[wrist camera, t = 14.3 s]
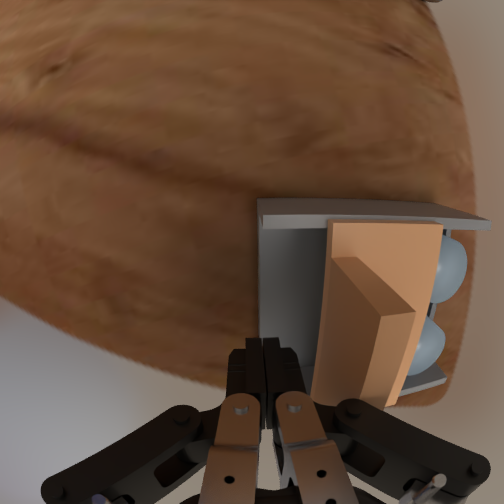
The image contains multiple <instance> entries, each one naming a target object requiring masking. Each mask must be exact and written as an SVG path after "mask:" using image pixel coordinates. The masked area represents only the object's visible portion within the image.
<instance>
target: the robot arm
mask: <svg viewBox="0 0 504 504" xmlns="http://www.w3.org/2000/svg"><path fill="white" fill-rule="evenodd" d="M424 1H428V2H440V1H442V0H424ZM265 418H266V427H267V429H272V431H273V449H274V454H275V459H276V464H277V469H278V474H279V480H280V490H266V489H260V488H257V484H258V465H259V444H260V442H261V430H262V429H265ZM205 465H206V469H205V473H204V478H203V483H202V488H201V493H200V494H197V495H194V496H192V497H190V498H188V499H186V500H184V501H183V502H181V503H180V504H386V503H384V502H382V501H381V500H379V499H377V498H376V497H374V496H372V495H371V494H369V493H367V492H366V491H364V490H362V489H359V488H357V487H354V486H352V484H351V481H350V479H349V476H348V474H347V472H349V473H350V474H352V475H354V476H355V477H357V478H359V479H360V480H362V481H364V482H366V483H367V484H369V485H371V486H373V487H374V488H376V489H378V490H380V491H382V492H384V493H385V494H387V495H389V496H391V497H393V498H395V499H397V500H399V504H464V503H465V501H466V499H467V497H468V496H469V495H470V494H471V493H472V492H473V491H474V490H476V489H477V488H478V487H479V486H480V485H481V484H482V483H483V482H485V481H486V480H487V478H488V477H489V474H490V470H491V469H490V468H491V467H490V463H489V461H488V460H487V459H486V458H485V457H484V456H482V455H480V454H477V453H474V452H472V451H469V450H466V449H464V448H462V447H459V446H457V445H455V444H452V443H450V442H447V441H445V440H443V439H440V438H438V437H436V436H434V435H432V434H429V433H427V432H425V431H423V430H421V429H418V428H416V427H414V426H412V425H410V424H407V423H406V422H404V421H402V420H400V419H398V418H396V417H394V416H392V415H390V414H388V413H386V412H384V411H382V410H380V409H378V408H376V407H374V406H372V405H370V404H368V403H367V402H365V401H363V400H360V399H355V398H350V399H345V400H343V401H341V402H340V403H339V404H338V405H337V406H328V405H322V404H318V403H316V402H314V401H313V400H312V399H311V397H310V396H308V395H307V392H306V388H305V384H304V380H303V376H302V372H301V370H300V364H299V360H298V357H297V354H296V352H295V351H294V350H293V349H292V348H291V347H285V348H281V347H280V341H279V337H266V338H263V339H262V338H246V349H234V350H233V351H232V352H231V354H230V355H229V360H228V373H227V387H226V398H225V400H224V401H223V403H222V404H221V405H220V406H218V407H216V408H214V409H212V410H208V411H203V412H199V411H198V410H197V409H196V408H194V407H192V406H188V405H177V406H174V407H171V408H169V409H168V410H166V411H165V412H163V413H162V414H160V415H159V416H157V417H156V418H154V419H153V420H151V421H149V422H148V423H146V424H145V425H143V426H142V427H140V428H138V429H137V430H135V431H134V432H132V433H130V434H128V435H127V436H125V437H123V438H122V439H120V440H119V441H117V442H115V443H113V444H112V445H110V446H108V447H106V448H105V449H103V450H101V451H99V452H98V453H96V454H94V455H92V456H90V457H88V458H86V459H85V460H83V461H81V462H79V463H77V464H75V465H73V466H71V467H69V468H67V469H65V470H63V471H61V472H59V473H57V474H55V475H53V476H51V477H49V478H47V479H46V480H45V481H44V482H43V484H42V486H41V496H42V498H43V500H44V501H45V502H46V504H154V503H156V502H157V501H159V500H160V499H161V498H163V497H165V496H166V495H167V494H169V493H170V492H171V491H173V490H174V489H176V488H177V487H178V486H179V485H181V484H182V483H183V482H185V481H186V480H187V479H189V478H190V477H191V476H193V475H194V474H195V473H196V472H198V471H199V470H200V469H201V468H203V467H204V466H205Z"/></svg>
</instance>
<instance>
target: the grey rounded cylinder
mask: <svg viewBox="0 0 504 504" xmlns="http://www.w3.org/2000/svg"><path fill="white" fill-rule="evenodd" d="M444 345H445V334H444V332H443V331H442V330H441V329H440V328H439V327H438V326H437V325H436V324H435V323H434V322H433V321H432V320H431V319H430V318H429V317H428V316H427V315H426V318H425V322H424V325H423V329H422V332H421V336H420V339H419V342H418V345H417V348H416V351H415V354H414V357H413V360H412V363H411V366H410V368H409V371H408V374H407V375H408V376H410V375H416V374H418V373H421V372H423V371H424V370H426V369H427V368H429V367H430V366H431V365H432V364H433V363H434V362H435V361H436V360H437V358H438V357H439V356H440V354H441V352H442V350H443V348H444Z"/></svg>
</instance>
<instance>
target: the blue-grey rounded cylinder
mask: <svg viewBox="0 0 504 504" xmlns="http://www.w3.org/2000/svg"><path fill="white" fill-rule="evenodd" d="M466 269H467V255H466V252H465V249H464V247H463V246H462V245H461V243H459V242H458V241H456V240H454V239H451V238H449V237H447V236H445V235H442V240H441V247H440V254H439V260H438V265H437V271H436V276H435V281H434V286H433V290H432V294H431V299H430V302H431V303H441V302H444V301H446V300H447V299H449V298H450V297H451V296H453V295H454V293H455V292H456V291H457V290H458V289H459V287H460V285H461V284H462V282H463V279H464V277H465V273H466Z"/></svg>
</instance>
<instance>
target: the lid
mask: <svg viewBox="0 0 504 504" xmlns="http://www.w3.org/2000/svg"><path fill="white" fill-rule="evenodd" d="M442 233H443V224H440V223H438V222H435V221H412V220H366V219H328V229H327V248H326V264H325V277H324V289H323V300H322V310H321V320H320V329H319V337H318V345H317V353H316V360H315V367H314V374H313V381H312V387H311V393H310V397H311V399H312V400H313V401H314V402H316V403H318V404H322V405H328V406H337V405H338V404H339V403H340V402H341V401H343V400H345V399H350V398H355V399H360V400H363V401H365V402H367V403H368V404H370V405H372V406H374V407H376V408H378V409H380V410H382V411H383V410H384V407H386V406H390V405H394V404H395V403H396V401H397V398H398V396H399V394H400V391H401V389H402V386H403V384H404V381H405V379H406V376H407V374H408V371H409V368H410V366H411V363H412V360H413V357H414V354H415V351H416V348H417V345H418V342H419V339H420V336H421V332H422V329H423V325H424V322H425V318H426V315H427V311H428V307H429V303H430V299H431V294H432V290H433V286H434V281H435V276H436V271H437V265H438V260H439V254H440V247H441V240H442Z"/></svg>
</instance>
